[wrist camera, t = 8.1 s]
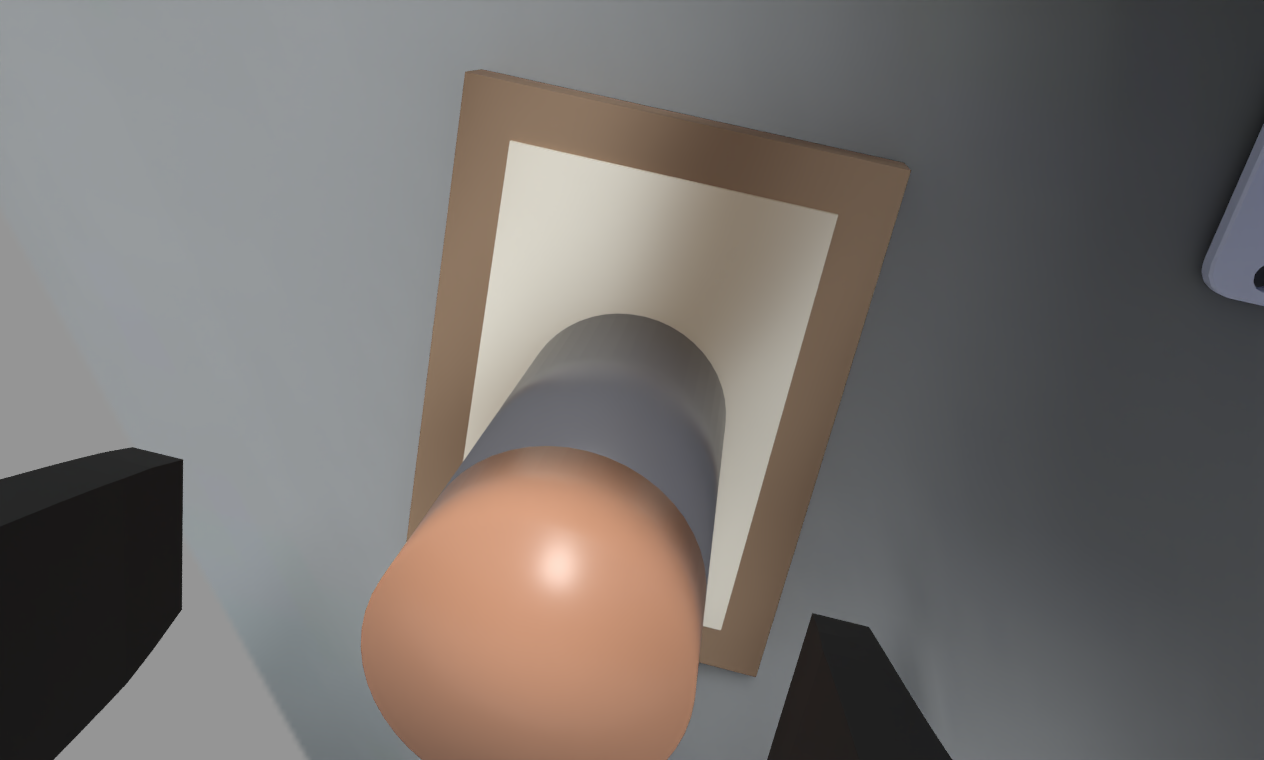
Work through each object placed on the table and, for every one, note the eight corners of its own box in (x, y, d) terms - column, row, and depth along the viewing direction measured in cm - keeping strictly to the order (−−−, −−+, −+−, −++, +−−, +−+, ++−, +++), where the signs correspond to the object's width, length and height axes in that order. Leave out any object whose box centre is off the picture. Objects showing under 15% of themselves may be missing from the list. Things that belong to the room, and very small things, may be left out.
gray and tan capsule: (768, 430, 18) (766, 711, 11) (613, 537, 19) (516, 852, 12) (635, 271, 17) (535, 455, 10) (482, 393, 19) (294, 635, 11)
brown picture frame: (904, 162, 17) (911, 171, 16) (756, 649, 21) (755, 680, 20) (482, 69, 18) (463, 72, 17) (417, 561, 22) (399, 587, 21)
